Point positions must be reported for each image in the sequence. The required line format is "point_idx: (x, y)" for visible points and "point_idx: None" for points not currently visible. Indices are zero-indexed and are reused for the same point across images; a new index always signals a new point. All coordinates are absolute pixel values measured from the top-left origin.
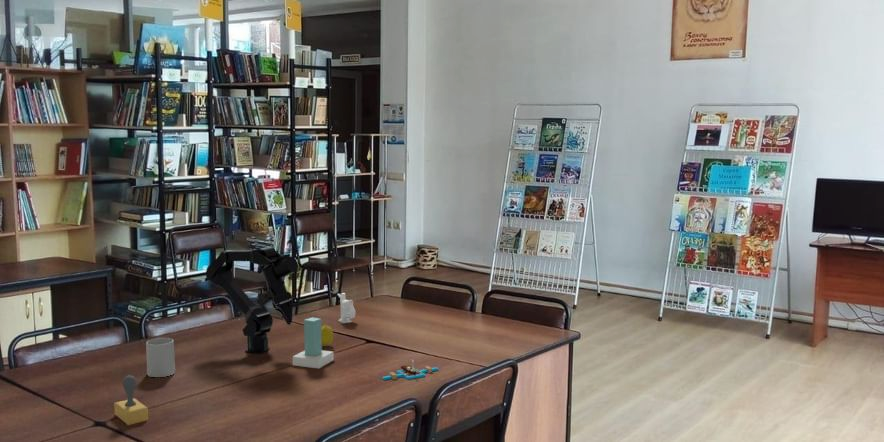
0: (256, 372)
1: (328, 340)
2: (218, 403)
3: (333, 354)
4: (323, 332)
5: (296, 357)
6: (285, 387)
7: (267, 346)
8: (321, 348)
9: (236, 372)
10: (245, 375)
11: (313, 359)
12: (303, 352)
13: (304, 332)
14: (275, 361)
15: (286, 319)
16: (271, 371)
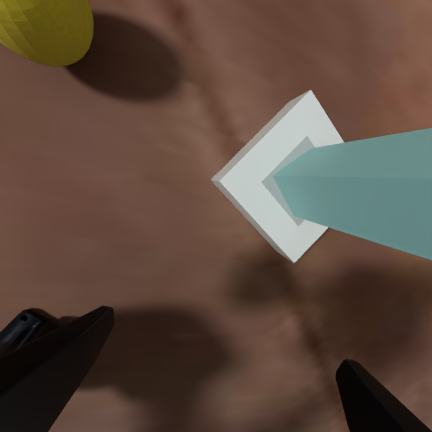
0: (291, 354)
1: (92, 16)
2: (422, 413)
3: (303, 94)
4: (62, 10)
5: (304, 250)
6: (419, 294)
7: (48, 331)
8: (326, 146)
9: (267, 402)
10: (301, 379)
11: None
12: (264, 214)
13: (380, 243)
14: (212, 299)
15: (78, 374)
16: (302, 317)
